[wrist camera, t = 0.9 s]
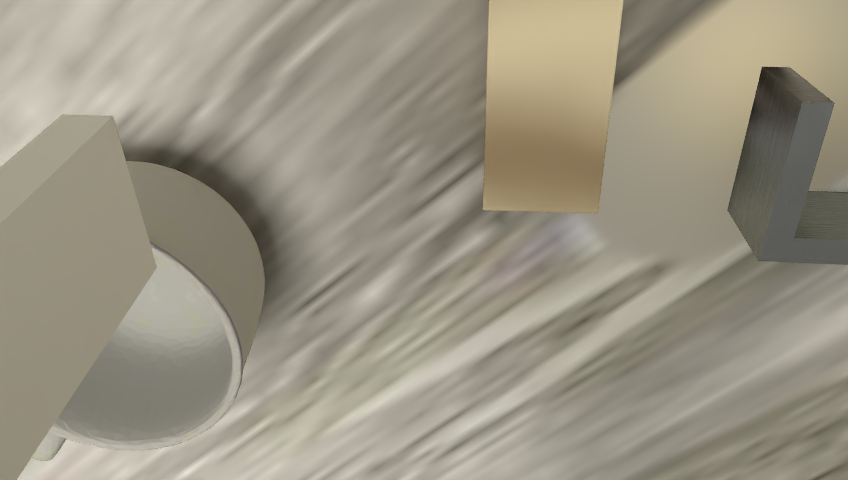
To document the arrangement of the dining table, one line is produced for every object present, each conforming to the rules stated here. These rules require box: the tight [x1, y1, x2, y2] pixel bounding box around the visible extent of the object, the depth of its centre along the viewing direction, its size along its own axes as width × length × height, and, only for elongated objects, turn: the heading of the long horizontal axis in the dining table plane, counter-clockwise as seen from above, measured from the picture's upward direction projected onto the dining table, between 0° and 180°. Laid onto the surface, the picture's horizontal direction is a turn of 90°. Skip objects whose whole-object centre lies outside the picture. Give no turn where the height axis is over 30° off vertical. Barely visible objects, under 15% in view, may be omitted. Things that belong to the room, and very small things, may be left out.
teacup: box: [31, 161, 265, 461], centre depth 30 cm, size 14×11×8 cm
